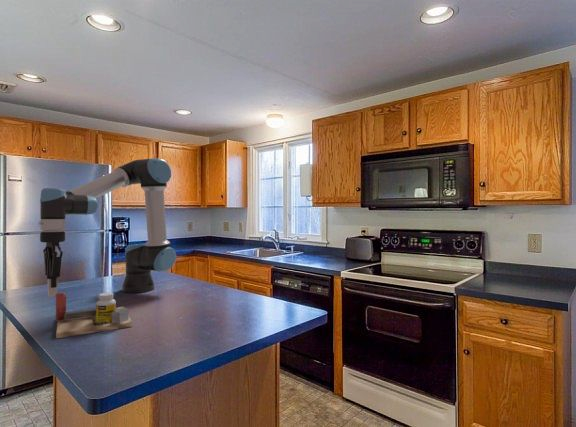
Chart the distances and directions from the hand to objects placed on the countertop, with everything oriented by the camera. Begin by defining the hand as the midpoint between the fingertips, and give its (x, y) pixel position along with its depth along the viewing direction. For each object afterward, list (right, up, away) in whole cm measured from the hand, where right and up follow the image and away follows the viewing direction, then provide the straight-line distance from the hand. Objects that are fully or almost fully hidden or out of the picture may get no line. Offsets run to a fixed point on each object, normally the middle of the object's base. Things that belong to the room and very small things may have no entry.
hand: (52, 296), depth 128 cm
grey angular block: (+27, -9, -4) cm, 29 cm away
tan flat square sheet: (+16, -9, -1) cm, 18 cm away
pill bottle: (+21, -10, -4) cm, 24 cm away
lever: (+12, -7, -1) cm, 14 cm away
